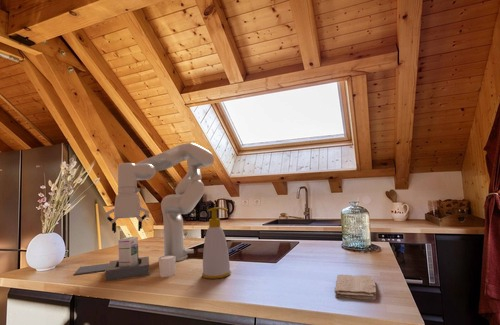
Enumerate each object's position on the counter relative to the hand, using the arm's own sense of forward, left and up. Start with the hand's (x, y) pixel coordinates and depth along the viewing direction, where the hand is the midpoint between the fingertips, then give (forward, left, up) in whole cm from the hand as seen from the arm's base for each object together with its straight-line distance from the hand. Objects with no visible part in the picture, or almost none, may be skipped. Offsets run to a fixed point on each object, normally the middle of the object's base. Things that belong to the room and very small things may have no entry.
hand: (127, 231), depth 122 cm
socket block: (0, 0, -17) cm, 17 cm away
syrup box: (0, 0, -18) cm, 18 cm away
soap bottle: (-33, +22, -18) cm, 44 cm away
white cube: (-15, +12, -18) cm, 26 cm away
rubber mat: (+16, -14, -17) cm, 27 cm away
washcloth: (-70, +58, -18) cm, 92 cm away
